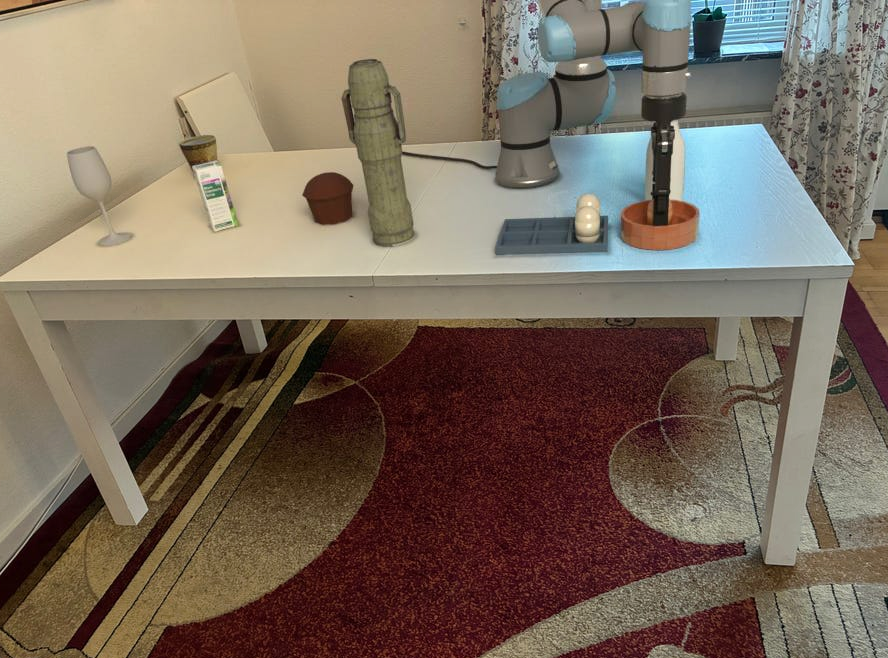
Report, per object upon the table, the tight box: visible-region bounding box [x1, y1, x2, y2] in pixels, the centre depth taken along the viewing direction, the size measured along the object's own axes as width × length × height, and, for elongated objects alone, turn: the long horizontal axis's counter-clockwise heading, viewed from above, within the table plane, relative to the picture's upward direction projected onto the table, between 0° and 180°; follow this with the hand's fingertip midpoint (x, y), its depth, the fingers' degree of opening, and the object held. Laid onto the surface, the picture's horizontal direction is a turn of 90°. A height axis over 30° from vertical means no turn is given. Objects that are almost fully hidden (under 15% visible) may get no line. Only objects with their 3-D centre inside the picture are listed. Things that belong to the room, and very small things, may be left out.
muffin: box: [301, 171, 354, 226], centre depth 166 cm, size 12×11×10 cm
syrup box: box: [192, 159, 239, 232], centre depth 168 cm, size 6×6×14 cm
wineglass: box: [66, 145, 132, 247], centre depth 166 cm, size 8×8×21 cm
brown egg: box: [647, 199, 673, 226], centre depth 138 cm, size 5×5×8 cm
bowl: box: [620, 199, 701, 251], centre depth 139 cm, size 14×14×5 cm
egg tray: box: [495, 215, 609, 256], centre depth 144 cm, size 14×21×2 cm
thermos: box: [341, 58, 415, 247], centre depth 145 cm, size 9×12×35 cm
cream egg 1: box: [575, 193, 601, 216], centre depth 143 cm, size 5×5×8 cm
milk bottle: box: [644, 120, 686, 201], centre depth 149 cm, size 8×8×20 cm
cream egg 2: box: [574, 206, 601, 243], centre depth 138 cm, size 5×5×8 cm
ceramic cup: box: [178, 134, 219, 177], centre depth 208 cm, size 13×10×10 cm
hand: (659, 221), depth 138 cm, fingers closed on brown egg, 4 cm apart
